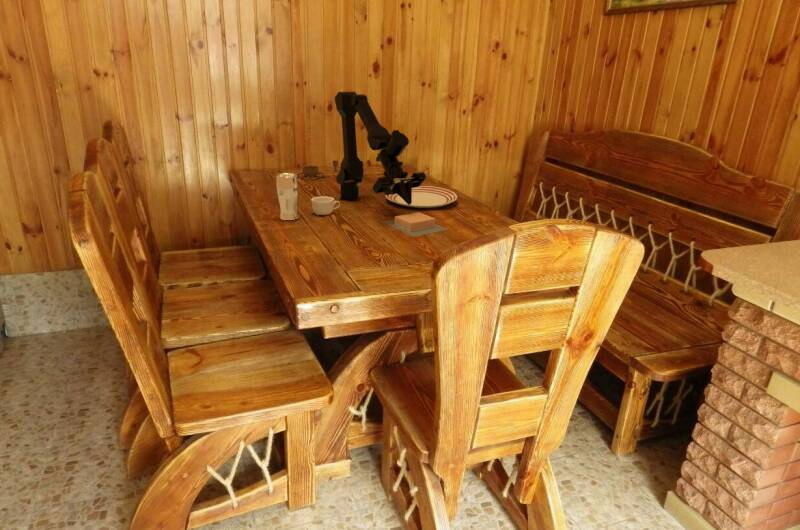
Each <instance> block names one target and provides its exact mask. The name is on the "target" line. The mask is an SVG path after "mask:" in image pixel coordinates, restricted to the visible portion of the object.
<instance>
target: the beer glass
mask: <svg viewBox="0 0 800 530" xmlns="http://www.w3.org/2000/svg"><path fill="white" fill-rule="evenodd" d="M275 181H276V182H275V184H276V193H277V198H278V203H279V207H280V214H279V220H280V219H282V220H294V221H296V220H295V219H297V218H298V219H299V215H298V211H297V210H298V209H297V204H298V203H297V202H298V196H299V194H298V193H299V187H298V176H297V174H296V173H293V172H283V173H277V174H276V180H275ZM298 219H297V220H298ZM282 220H281V221H282Z"/></svg>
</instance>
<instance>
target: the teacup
mask: <svg viewBox="0 0 800 530" xmlns="http://www.w3.org/2000/svg"><path fill="white" fill-rule="evenodd" d="M337 203H338V206H336V207H335V204H337ZM340 206H341V203H340V201H339V200H335V198H334V197H331V196H324V195H323V196H315V197H312V198H311V207H312V211H313V212H314V214H315V215H317V216H319V215H324V216H328V215H331V214H332V213H333V211H334V210H336V209H338V208H340Z"/></svg>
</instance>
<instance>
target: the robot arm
mask: <svg viewBox="0 0 800 530" xmlns="http://www.w3.org/2000/svg"><path fill="white" fill-rule="evenodd" d="M336 93H337V94H336V95H335V96H334V103H335V107H336V111H337V112H338V114H339V116H340V117H341V127H342V128H341V129H342V130H341V131H342V143H343V144H342V145H343V155H344V156H343V158H342V161H341V163H340V170H339V171H338V173H337V175H336V177H335V178H336V179H335V180H336V183H337V184H340V197H339V200H341V201H342V200H343V201H357V200H358V199H359V197H360V196H361V195H360V185H359V184H360V183H362V182H363V177H364V173H365V170H364V162H363V160H361V159H360V158H359V156H358V146H357V145H358V143H357V129H356V115H357V114H358V117H359V118H360V120H361V122H362V124H363V126H364V128H365V129H366V132H367V135H366V140H367V143H368V146H369V148H370V149H371V150H372V151H379V152H378V153H377V154H376V155H377V156H376V157H375V161H376V162H380V163H381V165H382V167H383V170H384V171H383V177H382V176H381V177H378V178H377V180H376V181H375V183H374V184H373V185H372V190H373V191H374V194H381V193H384V194H385V195H391V194H398V195H399V196H400V197H401V198H402V199H403V200H404V201H405V202H406V203H407V204H408V205H410V204H411V203H412V188H415V187H419V186H422V184H423V183H424V182H425V180H427V176H426V173H425V172H423V171H419V172H413V173H412V175H411V176H410V177H407V176H409V173H408V171H404V169H403V165H404V163H403V161H400V160H399V157H400V156H401V155H402V154H403V152H404V151H405V149H406V148H407V146H408V145H409V143H410V140H409V138H408V136H407V135H405V134H404V133H403V132H402V133H401V132H400V131H399V129H393V131H392V132H391V133H390V132H389V131H388V129H387V128H386V127H384V126H383V125H381V124H380V121H379V120H378V118H377V116H376V115H375V113H374V111H373V109H372V107H371V105H370V103H369V100H368V96H367V95H366V94H363V93H361V94H359V93H357V92H356V91H353V90H352V91H349V90H348V91H338V92H336Z"/></svg>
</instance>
